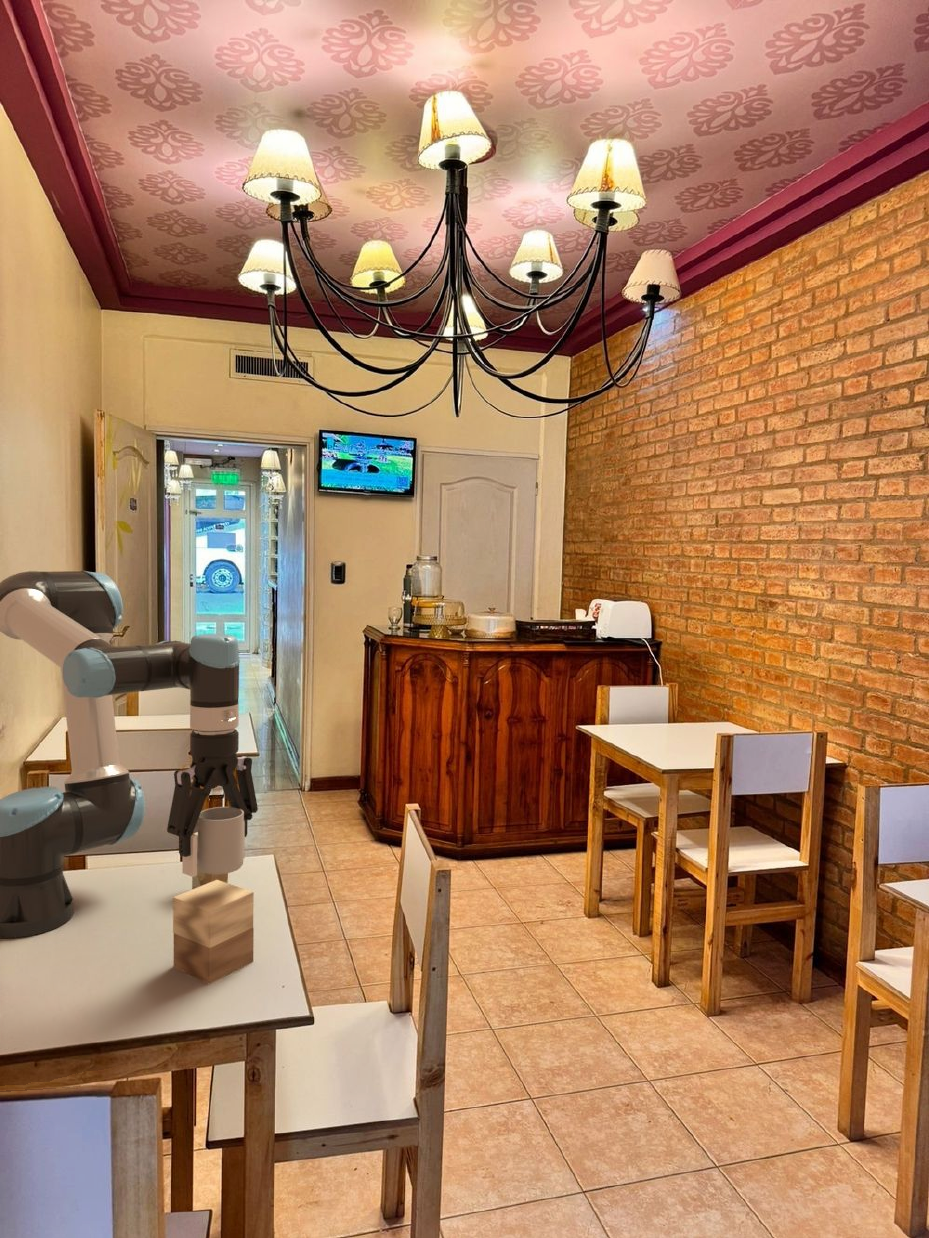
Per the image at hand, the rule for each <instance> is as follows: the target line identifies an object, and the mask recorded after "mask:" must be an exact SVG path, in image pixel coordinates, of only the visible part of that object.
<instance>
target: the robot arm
mask: <svg viewBox="0 0 929 1238" xmlns="http://www.w3.org/2000/svg"><path fill="white" fill-rule="evenodd" d="M123 613H124V604H123V599H122V595H121V592H120V590H119V587H118V586H117V584H116V583H115V581H114V580H112V578H111V577H110V576H109V575H107V574H105V573H102V572H92V571H86V570H81V571H74V570H73V571H69V570H68V571H65V570H64V571H38V570H36V571H35V570H34V571H33V570H32V571H31V570H29V571H23V572H18V573H16V574H12V575H10V576H8V577H6V578H5V579H3V580H1V581H0V632H1V633H2V634H3V635H5V636H6V637H9V638H10V639H13V640H21V641H23V642H25V643H26V644H28V645H29V646H30V647H31V648H33V649H34V650H36V651H37V652H38V653H40V654H41V655H43V657H45V658H47V659H49V661H51V662H52V663H53V664H55V665H56V666H58V667H59V668H60V673H61V674H60V675H61V682H62V683H61V684H62V690H63V691H62V692H63V701H64V709H65V710H64V711H65V719H66V720H65V721H66V727H67V728H66V729H67V738H68V745H69V755H70V764H71V773H70V775H69V776H67V778H66V779H65V780H64V790H65V791H64V792H62V790H61V789H60V788H59V787H56V786H49V785H48V786H40V787H31V788H30V787H29V788H26V789H22V790H19V791H16V792H15V791H14V792H13V793H11V794H8V795H5V796H4V797H2V798H1V799H0V939H1V938H2V939H8V938H9V939H10V938H11V939H13V938H23V937H24V938H25V937H30V936H34V935H38V934H43V933H45V932H49V931H52V930H54V929H56V928H59V927H61V926H62V925H64V924H65V923H67V922H68V921H70V920H71V919H72V918H73V915H74V913H75V908H74V907H75V906H74V905H75V902H74V898H73V895H72V893H71V890H70V888H69V885H68V882H67V880H66V877H65V875H64V857H66V856H69V855H73V854H74V855H75V854H77V853H82V852H85V851H88V850H89V851H90V850H92V849H96V848H101V847H104V846H107V845H116V844H117V843H119V842H123V841H126V840H128V839H130V838H132V837H133V836H135V835H136V834H137V833H138V832H139V830H140V827H142V824H143V822H144V818H145V815H146V813H145V812H146V798H145V793H144V790H143V789H142V786H141V783H140V782H139V781H137V780H136V779H132V778H130V771H129V769H127V768H125V767H124V766H123V765H121V763H120V755H119V754H120V753H119V747H118V746H119V744H118V739H117V738H118V737H117V726H116V719H115V710H114V709H115V708H114V701H113V695H114V696H115V695H122V694H128V693H129V694H130V693H138V692H147V691H148V692H149V691H150V692H151V691H156V690H157V691H159V690H166V689H174V688H179V689H186V690H190V691H189V692H190V694H189V695H190V700H189V701H190V702H189V708H190V709H189V728H190V729H192V731H191V733H190V734H189V735H190V736H189V737H190V740H189V743H190V746H189V747H190V749H189V750H190V751H189V752H190V755H191V758H192V761H191V764H190V766H189V768H185V770H179V769H177V770H175V771H174V772H173V778H174V791H173V794H172V795H173V796H172V801H171V807H170V811H169V817H168V823H167V829H166V832H167V833H168V834H171V835H174V836H176V837H178V853H179V855H180V856H181V857H182V859H181V860H182V863H181V864H182V869H181V870H182V874H184V875H187V876H190V877H191V878H192V877H195V876H197V835H194V834H193V833H195V832H194V829H195V826H196V824H197V821H198V818H199V816H200V813H201V811H203V807H204V804H205V802H206V800H207V797H208V796H210V794H211V792H212V790H213V789H215V788H218V787H221V788H222V790H223V792H224V795H225V796H226V800H227V801H228V803H229V804H228V805H229V807H235V808H238V809H242V810H243V811H244V858H243V860H245V854H246V853H245V852H246V851H245V850H246V848H245V846H246V845H245V844H246V843H245V840H246V839H245V838H247V836H248V821H250V820H252V819H253V814H255V813H257V812H258V809H259V808H258V801H257V796H256V791H255V785H254V781H253V780H254V779H253V774H252V766H253V765H252V764H253V758H252V757H248V756H244V755H239V756H237V753H238V752H239V745H240V744H239V742H240V741H239V734H240V733H239V731H238V730H237V728H238V727H239V720H240V719H239V718H240V717H239V709H240V708H239V707H240V706H239V699H240V697H239V696H240V695H239V694H240V692H239V690H240V688H239V687H240V662H241V658H240V655H239V641H238V639H237V637H235V636H234V635H232V634H221V633H220V634H219V633H212V634H211V633H207V634H205V633H204V634H197V635H194V636H193V637H192V638H191V639H190V643H188V642H184V641H183V642H182V641H181V640H163V641H160V642H157V643H153V644H141V645H140V644H139V645H121V646H116V645H114V644H111V643H110V641H111V640H112V638H114V629H116V628H117V627H118V626H119V625H120V624H121V622H122V620H123V616H122V615H123ZM235 770H236V771H235ZM234 772H235V773H236V776H235V774H234ZM193 778H194V779H193ZM236 778H237V779H236ZM186 827H187V828H186Z"/></svg>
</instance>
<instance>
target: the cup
mask: <svg viewBox="0 0 929 1238" xmlns="http://www.w3.org/2000/svg"><path fill="white" fill-rule="evenodd" d="M186 828H187V827H186ZM196 832H198V853H197V862H198V867H199V869H200V870H201V871H202V872H204V873H207V874H226V873H228V874H230V873H234V872H236V871H238V870H240V869H241V867H242V866H243V865H244V859H243V858H244V811H243V810H242V809H238V808H235V807H231V806H217V807H212V808H211V807H210V808H206V809H204V810H203V809H202V810H201V813H200V816H199V818H198V821H197V824H196V826H195V829H194V832H193V833H196Z"/></svg>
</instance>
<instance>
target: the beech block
mask: <svg viewBox="0 0 929 1238" xmlns="http://www.w3.org/2000/svg"><path fill="white" fill-rule="evenodd" d="M254 894H255V893H254V891H251V890H248V889H245V888H242V887H239V886H236V885H233V884H231V883H229V882H228V883H225V882H222V881H219V880H215V881H212V882H210V883H207V884H205V885H202V886H200V887H197V888H195V889H192V888H191V889H190V890H187V891H185V892H182V893H180V894H177V895H176V896H173V897H172V902H173V903H172V933H173V934H174V933H175V934H177V935H180V936H182V937H185V938H187V939H189V940H192V941H194V942H197V943H199V944H201V945H204V946H206V947H209V948H211V947H213V946H215V945H217V944H219V943H222V942H224V941H226V940H228V939H230V938H232V937H234V936H236V935H238V934H240V933H242V932H244V931H246V930H248V929H250V928H252V927H253V928H254V896H255V895H254Z"/></svg>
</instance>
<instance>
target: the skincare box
mask: <svg viewBox="0 0 929 1238" xmlns="http://www.w3.org/2000/svg"><path fill="white" fill-rule="evenodd" d="M193 834H194V835H197V853H198V831H195V832H193ZM215 880H219V881H222V882H225V883H228V884H229V873H226V874H207V873H204V872H202V871H201V870H200V869H199V867H198V862H197V876H195V877H192V876H191V882H192V883H191V890H192V889H195V888H197V887H200V886H202V885H205V884H207V883H210V882H212V881H215Z"/></svg>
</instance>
